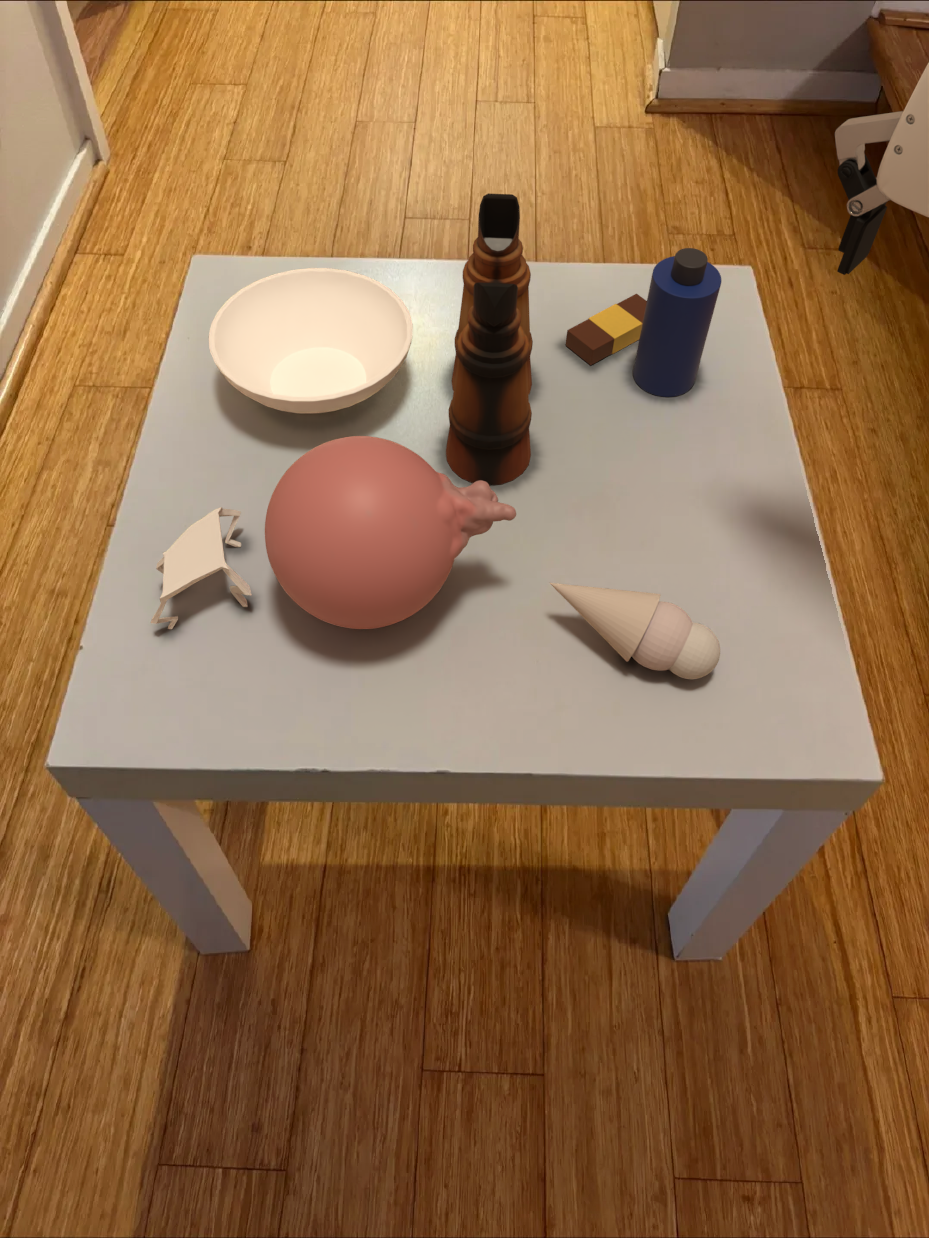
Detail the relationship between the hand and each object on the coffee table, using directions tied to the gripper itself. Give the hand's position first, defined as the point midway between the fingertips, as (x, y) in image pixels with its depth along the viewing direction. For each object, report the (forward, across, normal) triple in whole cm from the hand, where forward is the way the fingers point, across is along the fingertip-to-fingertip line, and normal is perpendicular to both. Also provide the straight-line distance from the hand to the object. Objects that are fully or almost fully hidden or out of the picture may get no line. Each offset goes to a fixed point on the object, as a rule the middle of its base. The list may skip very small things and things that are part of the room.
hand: (918, 295), depth 64 cm
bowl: (+28, +48, +12) cm, 57 cm away
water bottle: (+28, +22, -12) cm, 38 cm away
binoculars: (+28, +32, +4) cm, 43 cm away
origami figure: (+28, +37, +36) cm, 59 cm away
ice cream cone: (+28, +6, +17) cm, 34 cm away
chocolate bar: (+28, +30, -14) cm, 43 cm away
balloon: (+28, +24, +26) cm, 46 cm away
